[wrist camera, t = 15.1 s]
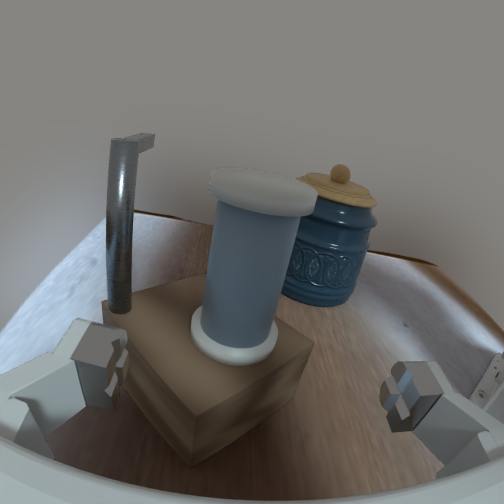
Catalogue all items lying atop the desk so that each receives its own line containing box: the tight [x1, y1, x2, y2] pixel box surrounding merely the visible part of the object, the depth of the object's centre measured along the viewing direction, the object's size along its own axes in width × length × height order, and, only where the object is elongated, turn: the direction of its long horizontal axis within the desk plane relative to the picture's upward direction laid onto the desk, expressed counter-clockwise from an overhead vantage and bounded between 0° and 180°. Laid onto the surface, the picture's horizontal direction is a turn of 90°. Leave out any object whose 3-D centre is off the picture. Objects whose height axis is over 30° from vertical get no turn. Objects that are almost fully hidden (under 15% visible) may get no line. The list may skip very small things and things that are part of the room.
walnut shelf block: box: [102, 272, 314, 468], centre depth 24 cm, size 11×12×7 cm
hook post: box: [106, 133, 155, 315], centre depth 22 cm, size 2×6×12 cm, turn 1°
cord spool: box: [190, 167, 318, 366], centre depth 20 cm, size 6×6×11 cm
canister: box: [281, 164, 378, 307], centre depth 43 cm, size 13×13×18 cm
